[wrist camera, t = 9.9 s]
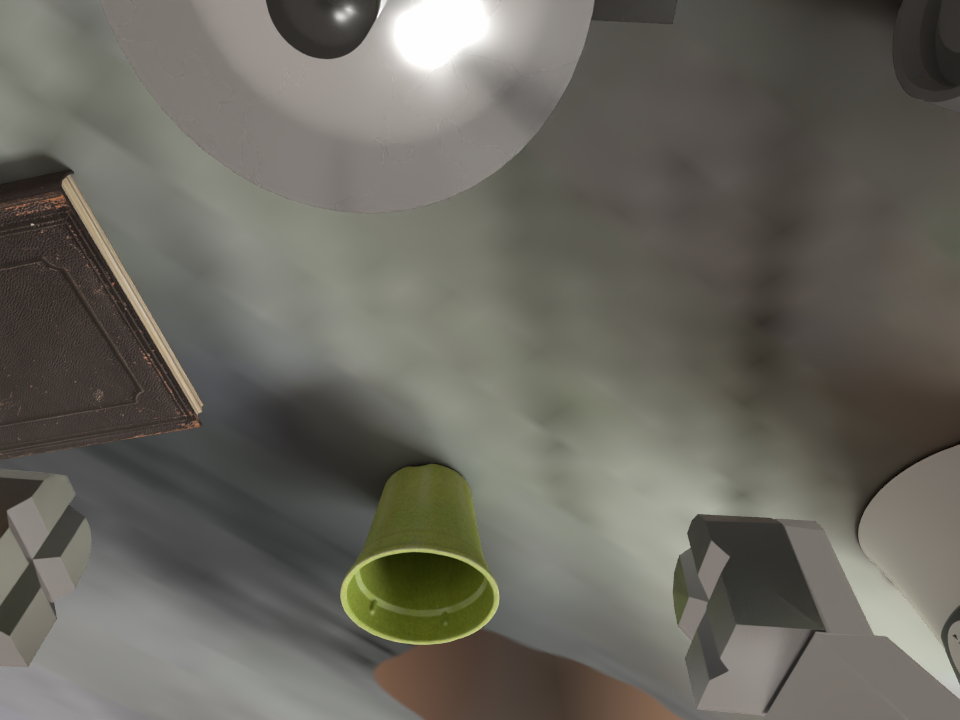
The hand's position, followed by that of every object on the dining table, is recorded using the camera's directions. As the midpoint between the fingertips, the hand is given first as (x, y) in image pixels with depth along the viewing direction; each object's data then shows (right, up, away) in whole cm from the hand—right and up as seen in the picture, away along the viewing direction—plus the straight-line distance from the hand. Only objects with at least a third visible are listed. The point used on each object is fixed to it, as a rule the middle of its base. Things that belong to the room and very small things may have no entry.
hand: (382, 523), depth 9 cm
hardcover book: (-29, +4, +32) cm, 43 cm away
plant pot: (-2, -7, +39) cm, 40 cm away
